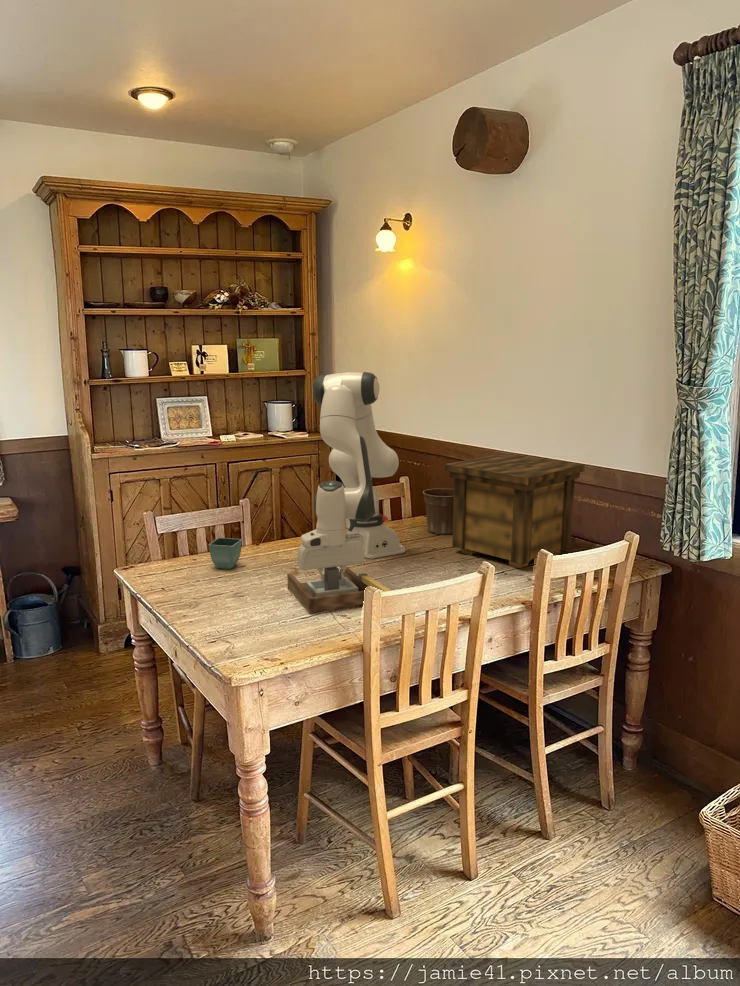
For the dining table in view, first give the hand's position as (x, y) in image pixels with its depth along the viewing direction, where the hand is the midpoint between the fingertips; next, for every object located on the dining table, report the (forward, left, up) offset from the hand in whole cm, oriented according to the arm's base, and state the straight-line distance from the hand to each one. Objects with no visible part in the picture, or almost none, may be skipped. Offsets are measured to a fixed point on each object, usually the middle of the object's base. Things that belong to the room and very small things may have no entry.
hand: (331, 580), depth 227 cm
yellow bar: (-10, +10, 0) cm, 14 cm away
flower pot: (+24, -42, -6) cm, 49 cm away
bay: (0, -2, -6) cm, 6 cm away
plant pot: (-66, -58, -6) cm, 88 cm away
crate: (-76, -22, -6) cm, 79 cm away
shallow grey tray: (0, 0, -4) cm, 4 cm away
